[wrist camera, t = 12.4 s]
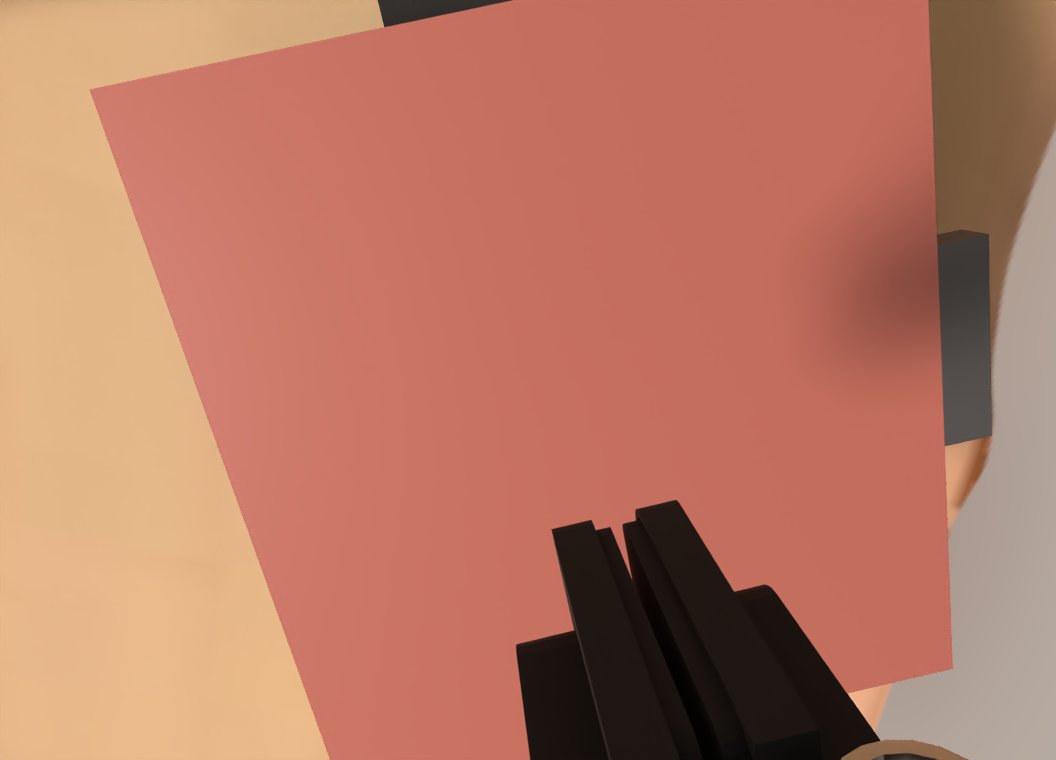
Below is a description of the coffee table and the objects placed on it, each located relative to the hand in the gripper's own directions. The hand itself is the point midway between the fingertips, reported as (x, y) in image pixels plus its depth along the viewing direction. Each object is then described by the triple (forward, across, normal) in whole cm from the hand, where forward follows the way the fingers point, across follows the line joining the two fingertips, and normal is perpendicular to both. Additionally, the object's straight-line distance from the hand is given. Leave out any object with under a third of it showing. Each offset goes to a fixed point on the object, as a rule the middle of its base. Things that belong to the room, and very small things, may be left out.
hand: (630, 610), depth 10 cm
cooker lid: (+9, -1, +1) cm, 9 cm away
